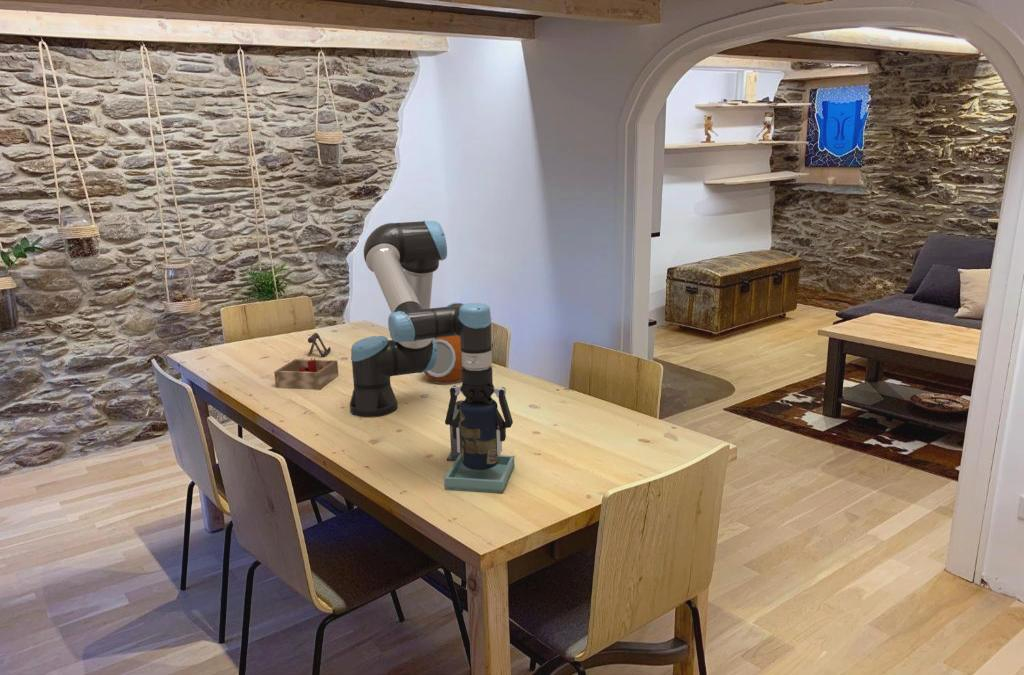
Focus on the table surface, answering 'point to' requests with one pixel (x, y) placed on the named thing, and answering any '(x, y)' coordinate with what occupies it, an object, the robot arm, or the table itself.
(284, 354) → the table surface
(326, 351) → the portable electronic device stand
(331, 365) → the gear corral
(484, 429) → the canister
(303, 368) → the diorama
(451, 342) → the alarm clock
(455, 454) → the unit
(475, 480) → the tray
